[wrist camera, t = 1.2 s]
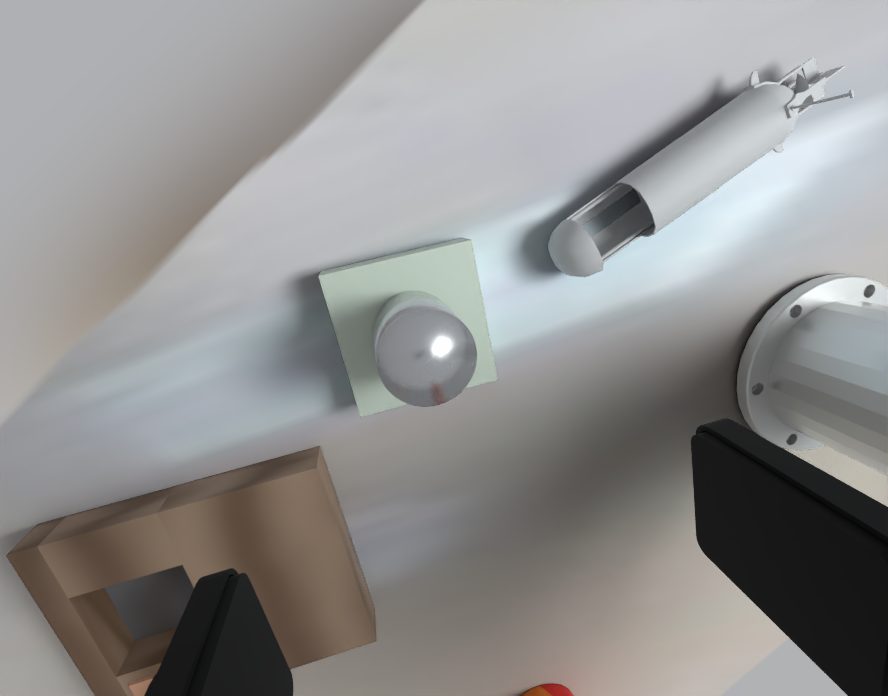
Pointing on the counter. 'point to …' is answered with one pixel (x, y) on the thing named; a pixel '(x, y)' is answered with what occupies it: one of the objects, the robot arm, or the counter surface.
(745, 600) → the counter surface
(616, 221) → the torpedo
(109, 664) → the walnut flange plate
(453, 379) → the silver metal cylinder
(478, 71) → the counter surface
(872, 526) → the robot arm
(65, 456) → the counter surface
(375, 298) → the tab
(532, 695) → the paper cup
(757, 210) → the counter surface
